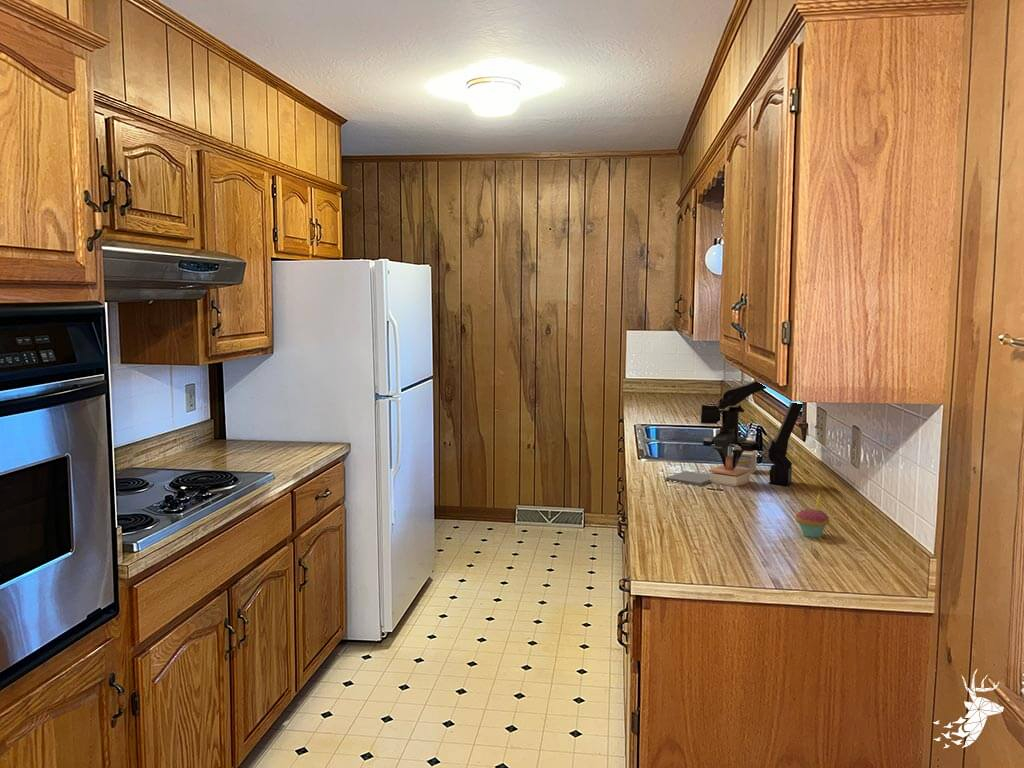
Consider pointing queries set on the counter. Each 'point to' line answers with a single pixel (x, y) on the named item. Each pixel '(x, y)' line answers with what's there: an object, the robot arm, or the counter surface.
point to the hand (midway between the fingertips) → (729, 467)
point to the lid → (729, 468)
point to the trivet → (690, 478)
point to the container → (747, 457)
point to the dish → (729, 479)
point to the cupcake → (812, 521)
